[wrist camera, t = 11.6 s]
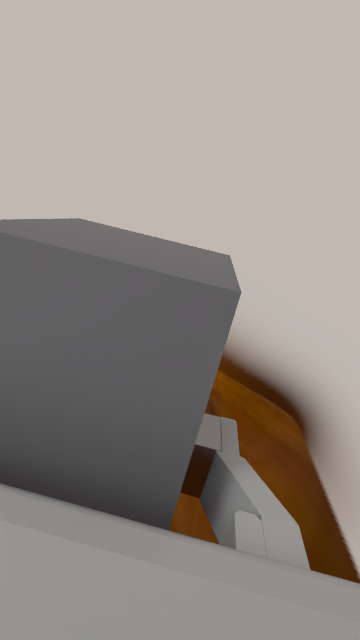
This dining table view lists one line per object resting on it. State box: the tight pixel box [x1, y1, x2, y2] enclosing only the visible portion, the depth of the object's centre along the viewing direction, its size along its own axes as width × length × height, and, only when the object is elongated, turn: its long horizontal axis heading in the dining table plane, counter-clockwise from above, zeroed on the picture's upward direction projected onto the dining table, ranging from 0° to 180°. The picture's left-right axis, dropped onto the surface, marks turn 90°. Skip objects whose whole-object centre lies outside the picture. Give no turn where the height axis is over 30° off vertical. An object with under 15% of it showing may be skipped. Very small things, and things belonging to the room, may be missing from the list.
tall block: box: [0, 219, 241, 530], centre depth 9 cm, size 5×5×12 cm
